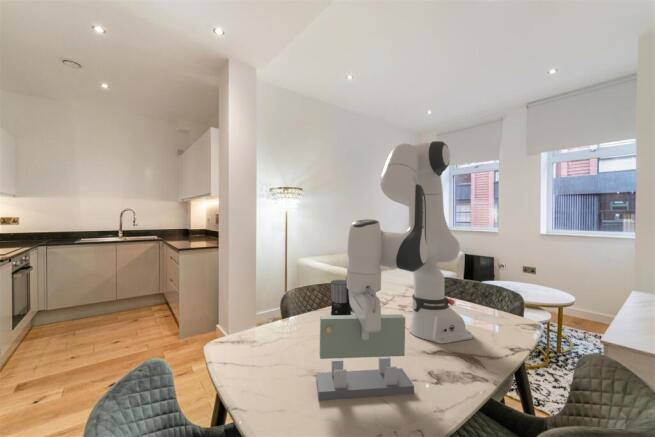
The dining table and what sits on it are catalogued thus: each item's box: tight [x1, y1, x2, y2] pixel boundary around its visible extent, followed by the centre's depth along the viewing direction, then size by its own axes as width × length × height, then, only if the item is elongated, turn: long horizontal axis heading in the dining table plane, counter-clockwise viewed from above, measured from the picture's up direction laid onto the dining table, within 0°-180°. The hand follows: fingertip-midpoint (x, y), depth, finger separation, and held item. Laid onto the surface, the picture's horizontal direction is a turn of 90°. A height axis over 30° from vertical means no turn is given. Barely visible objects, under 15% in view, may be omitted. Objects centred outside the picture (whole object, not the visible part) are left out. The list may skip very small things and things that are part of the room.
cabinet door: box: [319, 313, 406, 360], centre depth 69 cm, size 22×4×10 cm, turn 96°
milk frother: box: [330, 279, 353, 316], centre depth 126 cm, size 14×16×15 cm
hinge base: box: [315, 357, 415, 401], centre depth 70 cm, size 24×8×6 cm, turn 96°
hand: (362, 335), depth 70 cm, fingers closed on cabinet door, 2 cm apart
